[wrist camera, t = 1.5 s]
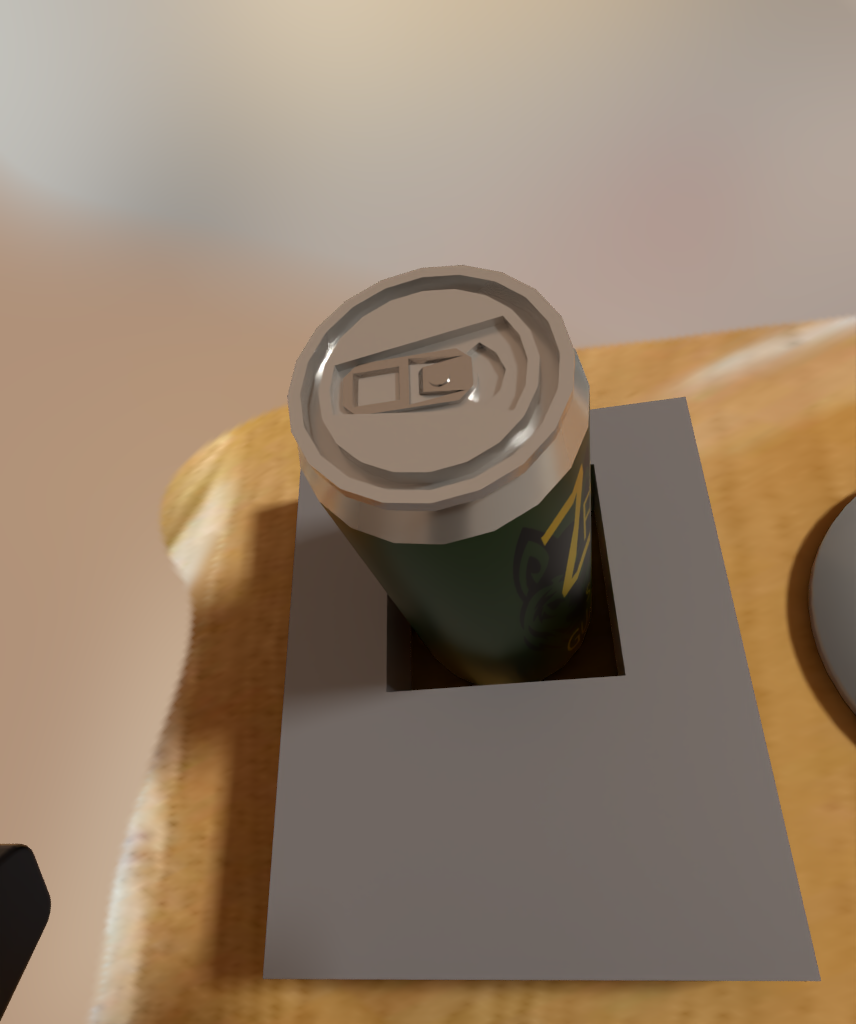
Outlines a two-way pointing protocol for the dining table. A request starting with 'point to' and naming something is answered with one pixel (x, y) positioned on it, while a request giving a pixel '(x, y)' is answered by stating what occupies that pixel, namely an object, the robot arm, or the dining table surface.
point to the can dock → (537, 770)
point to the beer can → (457, 463)
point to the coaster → (836, 603)
